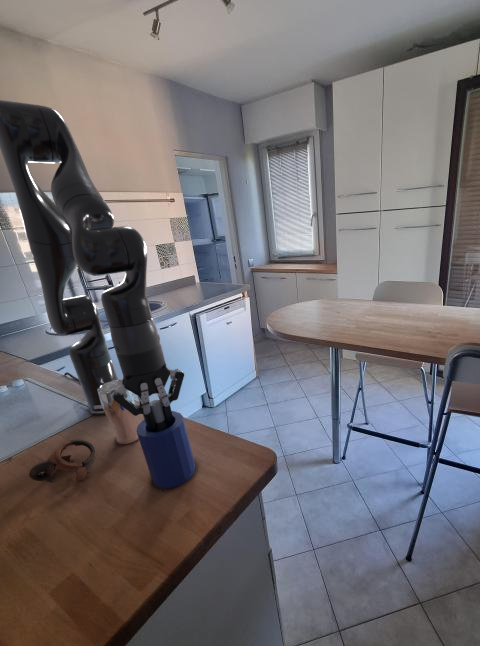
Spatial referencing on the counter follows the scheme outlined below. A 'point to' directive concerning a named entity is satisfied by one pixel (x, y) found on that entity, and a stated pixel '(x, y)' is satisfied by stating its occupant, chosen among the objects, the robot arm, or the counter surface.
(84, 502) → the counter surface
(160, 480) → the vase
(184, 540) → the counter surface
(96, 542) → the counter surface
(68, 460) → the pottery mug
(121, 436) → the beer glass
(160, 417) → the marker
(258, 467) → the counter surface
